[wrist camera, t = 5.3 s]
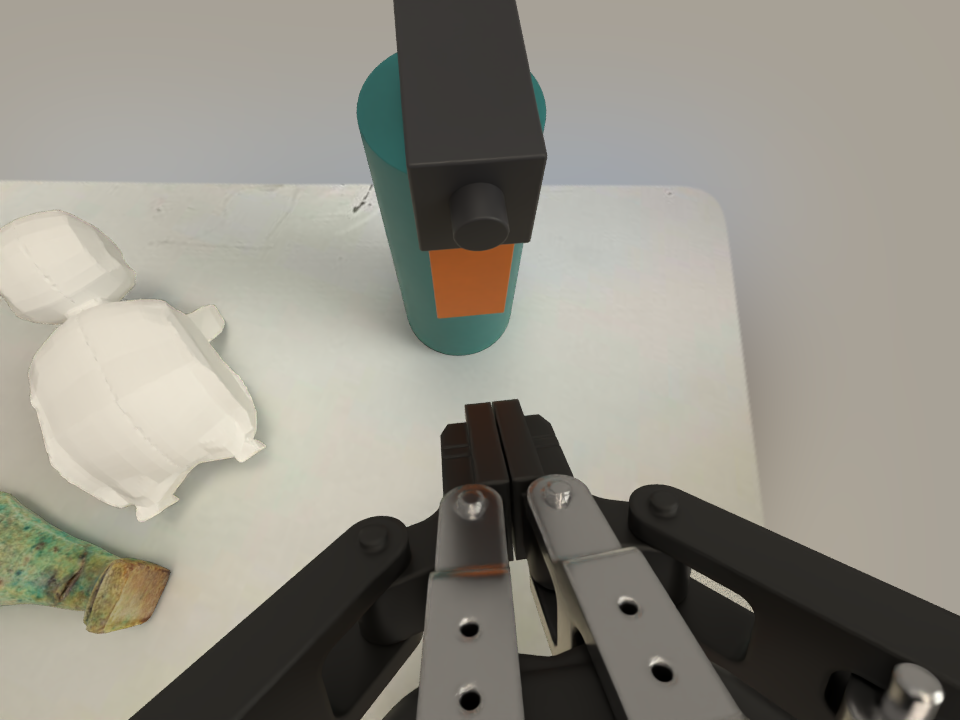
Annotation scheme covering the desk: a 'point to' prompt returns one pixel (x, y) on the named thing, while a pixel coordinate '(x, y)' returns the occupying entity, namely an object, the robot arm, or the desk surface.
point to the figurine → (72, 573)
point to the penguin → (119, 368)
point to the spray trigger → (470, 280)
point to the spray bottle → (454, 151)
